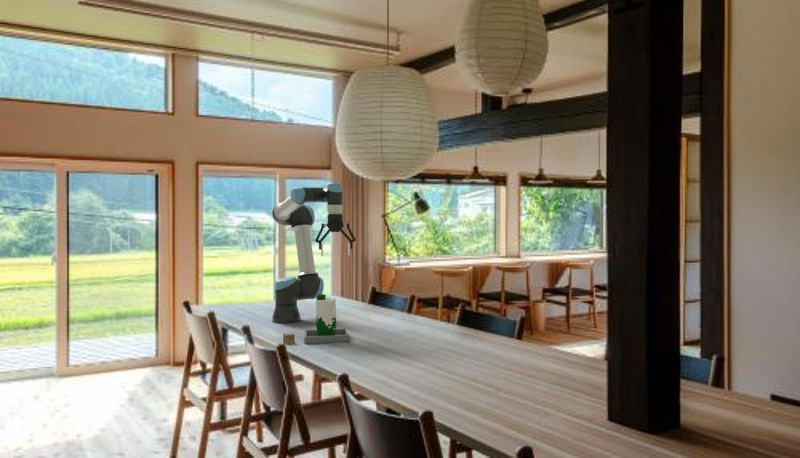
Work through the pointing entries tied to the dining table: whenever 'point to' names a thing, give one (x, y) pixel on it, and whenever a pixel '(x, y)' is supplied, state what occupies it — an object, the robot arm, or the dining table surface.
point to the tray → (326, 337)
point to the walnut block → (288, 338)
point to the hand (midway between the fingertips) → (335, 255)
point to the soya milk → (325, 315)
